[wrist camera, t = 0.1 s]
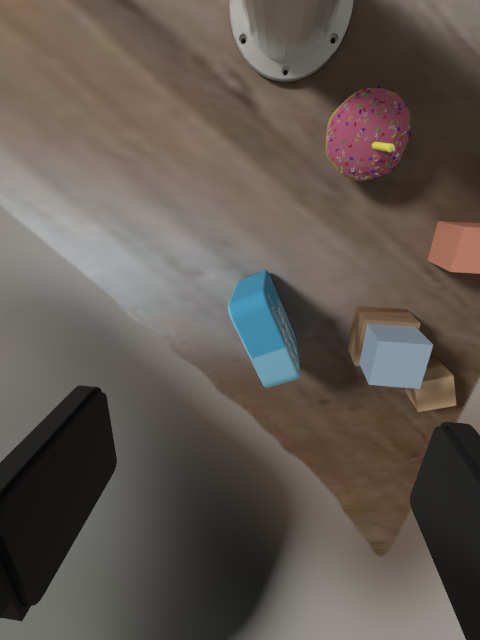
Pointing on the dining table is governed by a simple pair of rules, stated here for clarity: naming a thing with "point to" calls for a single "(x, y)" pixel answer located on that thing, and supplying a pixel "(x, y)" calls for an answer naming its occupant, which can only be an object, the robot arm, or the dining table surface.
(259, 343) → the data package
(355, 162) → the cupcake
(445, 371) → the block
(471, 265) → the salmon orange block
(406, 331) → the tower top
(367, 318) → the tower base
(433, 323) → the dining table surface
